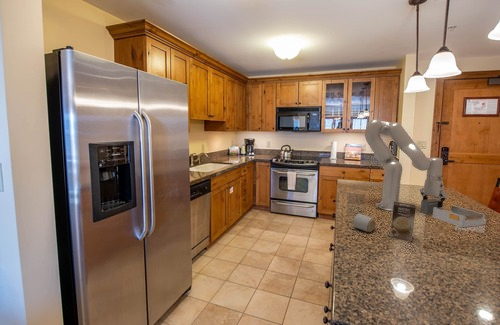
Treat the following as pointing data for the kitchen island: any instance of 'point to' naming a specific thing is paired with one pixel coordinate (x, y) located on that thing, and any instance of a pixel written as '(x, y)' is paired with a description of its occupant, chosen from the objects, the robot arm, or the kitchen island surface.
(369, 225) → the grey short cylinder
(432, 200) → the panel
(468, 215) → the rack
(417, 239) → the kitchen island surface
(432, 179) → the robot arm
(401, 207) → the coffee box
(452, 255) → the kitchen island surface
